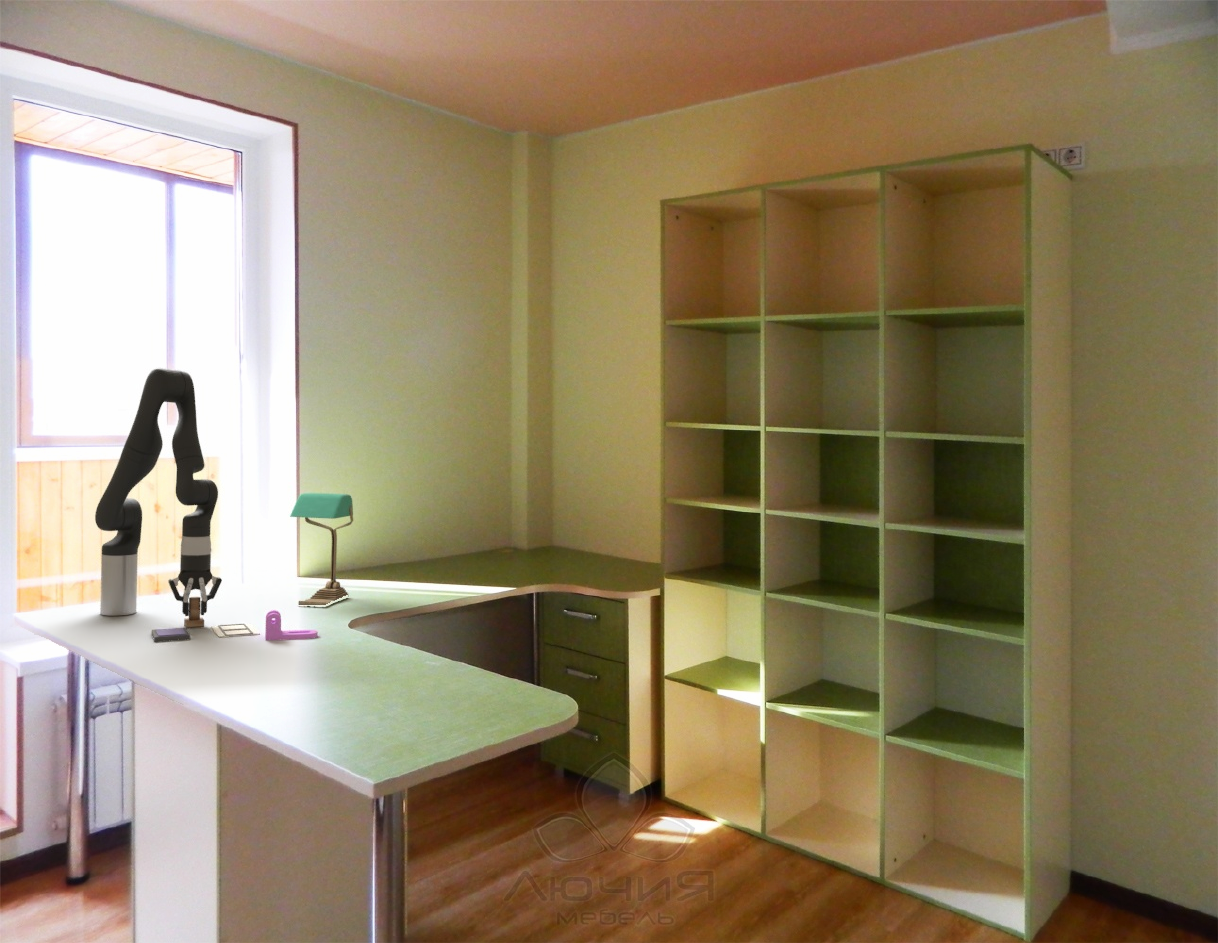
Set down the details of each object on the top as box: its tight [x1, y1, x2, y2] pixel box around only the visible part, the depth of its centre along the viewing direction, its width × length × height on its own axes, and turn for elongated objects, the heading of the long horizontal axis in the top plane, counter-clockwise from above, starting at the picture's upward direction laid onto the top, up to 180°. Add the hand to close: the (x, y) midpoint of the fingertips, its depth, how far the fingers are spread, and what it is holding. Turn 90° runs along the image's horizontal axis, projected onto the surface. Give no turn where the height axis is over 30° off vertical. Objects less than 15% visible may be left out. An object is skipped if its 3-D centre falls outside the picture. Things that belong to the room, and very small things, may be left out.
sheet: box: [210, 623, 260, 638], centre depth 247 cm, size 14×10×1 cm
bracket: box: [264, 609, 319, 641], centre depth 242 cm, size 13×6×7 cm, turn 111°
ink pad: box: [151, 627, 191, 643], centre depth 237 cm, size 10×8×1 cm
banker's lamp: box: [289, 492, 354, 605], centre depth 293 cm, size 16×21×35 cm
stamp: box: [183, 596, 205, 630], centre depth 250 cm, size 4×4×8 cm
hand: (194, 614), depth 250 cm, fingers open, 3 cm apart
